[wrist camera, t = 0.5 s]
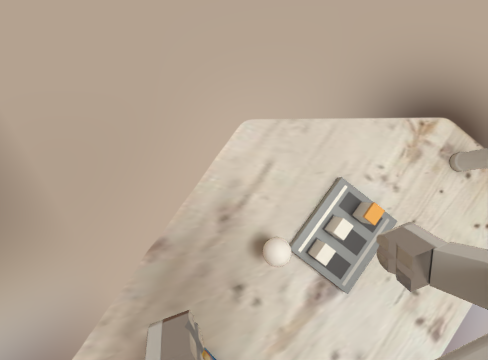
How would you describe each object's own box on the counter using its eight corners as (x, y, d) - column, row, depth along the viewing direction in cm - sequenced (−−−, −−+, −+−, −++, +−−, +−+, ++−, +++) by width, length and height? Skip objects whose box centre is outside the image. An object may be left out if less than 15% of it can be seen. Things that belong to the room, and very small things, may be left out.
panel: (391, 220, 65) (412, 223, 58) (343, 290, 62) (359, 303, 55) (338, 177, 64) (352, 175, 57) (287, 247, 62) (295, 254, 55)
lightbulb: (255, 234, 61) (263, 243, 50) (279, 229, 62) (292, 237, 51) (260, 259, 61) (268, 273, 50) (284, 254, 62) (297, 267, 51)
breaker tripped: (370, 209, 62) (385, 210, 56) (361, 222, 61) (375, 225, 56) (361, 201, 62) (374, 202, 56) (351, 215, 61) (364, 217, 56)
